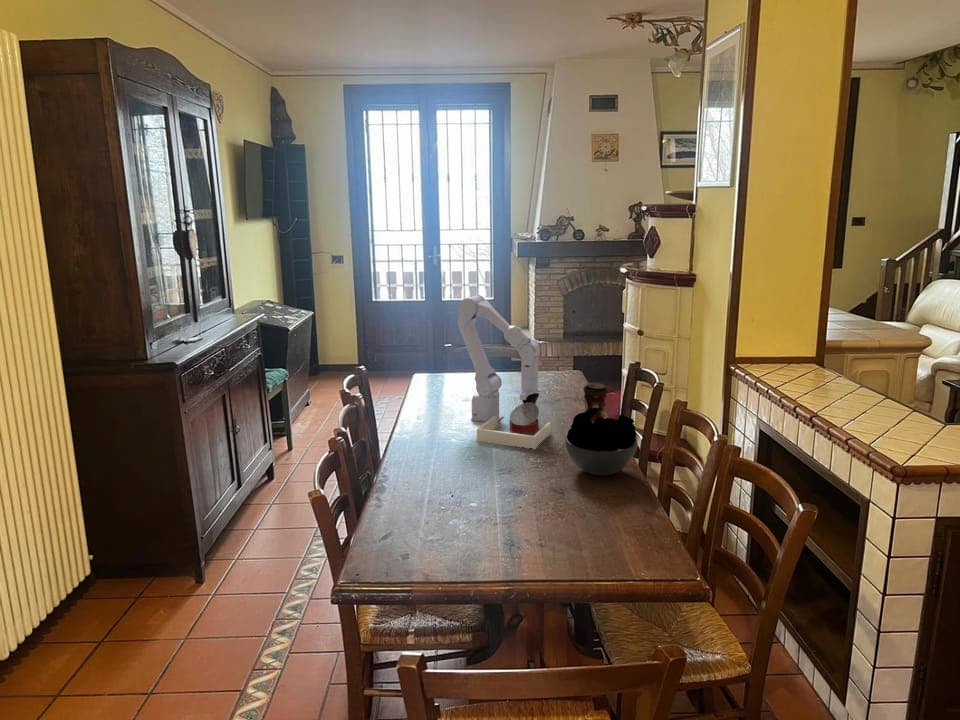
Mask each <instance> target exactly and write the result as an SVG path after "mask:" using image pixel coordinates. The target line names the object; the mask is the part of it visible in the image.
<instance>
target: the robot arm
mask: <svg viewBox="0 0 960 720" xmlns="http://www.w3.org/2000/svg"><path fill="white" fill-rule="evenodd" d="M457 311H458V315H457V326H458V329H459V331H460V334H461V337H462V340H463V342H464V345H465V347H466V350H467V353H468V354H469V357H470V360H471V362H472V366H473V367H474V370H475V375H474V380H475V385H476V386H475V390H476V392H477V393H474V394H473V396H472V398H471V418H470V420H471V421H476V422H482V423H483V422H484V423H486V422H487V421H488V420H490V419H491V418H492V417H493V416H497V422H498V421H500V420H501V419H503V418H504V415H502V414H500V391H499V389H501V387H502V382H503V381H502V378H501V377H500V376H499V375H498V374H497V373H496V372H497V371H496V370H495V368H493V366H491V364H490V363H489V360H488V357H487V355H486V352H485V349H484V346H483V345H482V344H483V343H482V342H481V339H480V336H479V334H478V331H477V328H476V326H475V323H476V322H477V319H478V318H482V319H483V318H484V319H487V320H488V321H489V323H491V324H493V326H495V327H496V328H498V329H499V331H501V332H502V333H503V338H504V340H506V341H507V342H508V343H509V344H510V345H511V346H512V347H513V348H514V349H516V351H518V355H519V357H520V358H521V367H520V369H521V376H520V377H521V380H520V381H521V383H520V385H521V388H520V393H519V400H521V401H522V404H524V403H527V402H531V403H534V404H536V403H537V400H538V398H539V396H540V394H539V393H541V392H542V389H541V388H540V383H539V354H540V353H541V346H540V344H539V343H538V341H537V340H535V339H532V337H530V336H529V337H528V335H526V334H525V332H523V331H522V327H520V326H517V325H510V323H509V322H507V321H506V320H505V318H504V317H503V316H502V315H501V314H500V313H499V312H498V311H497V310H496V309H495V307H493V306H492V305H491V303H490V302H489V300H487V299H485V297H483V296H482V295H480V294H474V295H472V296H470V297H466V298H463V299H462V300H461V301H460V303H459V304H458V306H457ZM536 405H537V404H536Z"/></svg>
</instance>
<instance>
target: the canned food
mask: <svg viewBox="0 0 960 720" xmlns="http://www.w3.org/2000/svg"><path fill="white" fill-rule="evenodd" d="M539 415H540V409H539V407H538V405H537V404H534V403H531V402H527V403H521V404H519V405H518V406H516V407H514V409H513V410H512V411H511V412H510V415H509V431H510V432H511V433H516V434H520V433H521V434H523V435H527V434H526V433H529V434H534V433H537V432H538V431H539V419H538V418H539ZM537 430H538V431H537ZM533 432H534V433H533Z"/></svg>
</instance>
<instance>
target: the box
mask: <svg viewBox="0 0 960 720" xmlns="http://www.w3.org/2000/svg"><path fill="white" fill-rule="evenodd" d="M496 428H498V421H497V416H493V417H492V418H491V419H490V420H488V421H487V422H484V423H483V424H481V425H480V426H479V427H477V429H476V442H480V441H481V442H480V443H487V442H488V443H489V444H494V443H495V445H501V446H502V445H503V446H510V447H515V446H516V447H515V448H522V447H524V449H529V448H533V449H532V450H536V449H538V447H539V446H540V445H541V444H542V443H543V442H544V441H545V440H546V439H547V438H548V437H549V436H550V435H551V422H549V421H548V422H546V423H545V424H544V425H543V426H542V427H541V428H540V429H538V431H536V432H535V434H534V435H529V434H520V433H515V432H509V431H499V430H495V429H496ZM547 436H548V437H547ZM546 437H547V438H546ZM545 438H546V439H545ZM544 439H545V440H544ZM543 440H544V441H543ZM542 441H543V442H542ZM541 442H542V443H541ZM488 443H487V444H488ZM540 443H541V444H540ZM539 444H540V445H539ZM538 445H539V446H538ZM537 446H538V447H537Z"/></svg>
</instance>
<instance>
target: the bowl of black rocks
mask: <svg viewBox="0 0 960 720" xmlns="http://www.w3.org/2000/svg"><path fill="white" fill-rule="evenodd" d="M600 409H601V408H592V409H589V410H588V411H586V412H585V411H583V412H580V413H578V414H576V415H575V416H574V417H573V421H572V424H571V425H570V429H568V430H567V434H566V435H565V439H564V441H565V447H566V450H567V451H566V452H568V455H569V457H570V459H571V461H572V462H573V463H574V464H575V465H576V466H577V467H578V468H579V469H581V470H583V471H584V472H586V473H589V474H590V475H591V474H593V475H596V476H608V475H612V474H616V473H618V472H620V471H621V470H622V469H624V468H626V467H627V466H628V465H629V464H630V462H631V460H633V458H634V456H635V454H636V451H637V448H638V440H637V432H636V427H635V425H634V423H635V421H634V419H633V418H631V417H629V416H627V415H623V414H620V415H619V416H618V419H615V418H611V417H606V418H604V419H603V418H601V417H598V418H597V419H596V420H595V421H594V423H592V422H591V417H592V416H593V415H594V414H596V413H597V412H598V411H599V410H600Z"/></svg>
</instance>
